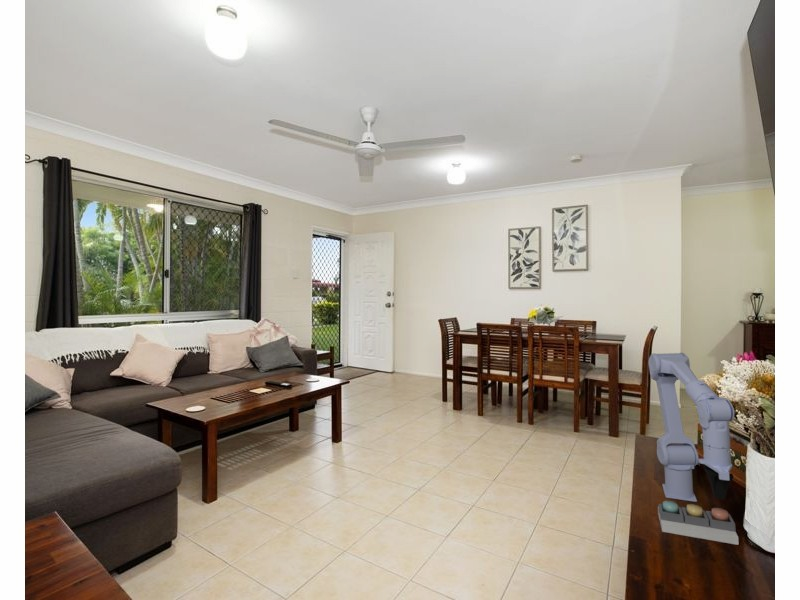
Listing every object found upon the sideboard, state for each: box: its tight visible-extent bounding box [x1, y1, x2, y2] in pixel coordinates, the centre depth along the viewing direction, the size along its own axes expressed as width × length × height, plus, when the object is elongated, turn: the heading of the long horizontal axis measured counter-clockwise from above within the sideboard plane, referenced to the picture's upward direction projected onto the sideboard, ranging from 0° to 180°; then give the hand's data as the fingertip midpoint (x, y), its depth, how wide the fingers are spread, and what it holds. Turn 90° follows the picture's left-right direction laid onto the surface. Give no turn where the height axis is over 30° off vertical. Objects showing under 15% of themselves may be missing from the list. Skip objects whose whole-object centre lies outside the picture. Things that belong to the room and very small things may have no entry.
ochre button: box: [686, 503, 703, 518], centre depth 111 cm, size 3×3×2 cm
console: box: [657, 503, 739, 545], centre depth 111 cm, size 10×16×4 cm, turn 64°
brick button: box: [711, 507, 729, 522], centre depth 109 cm, size 3×3×2 cm
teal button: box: [662, 500, 679, 514], centre depth 114 cm, size 3×3×2 cm
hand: (718, 496), depth 109 cm, fingers closed
